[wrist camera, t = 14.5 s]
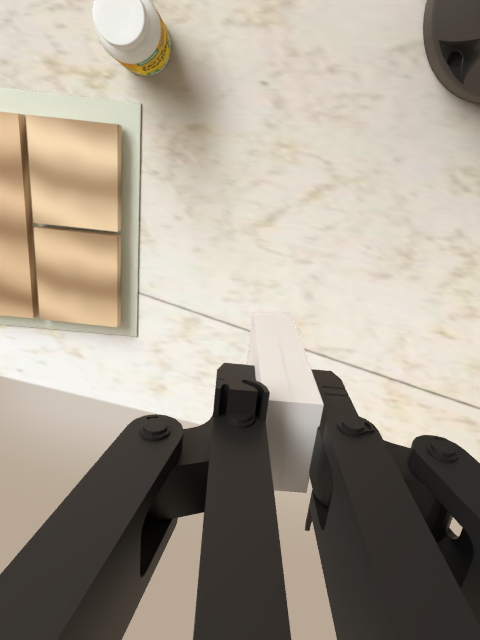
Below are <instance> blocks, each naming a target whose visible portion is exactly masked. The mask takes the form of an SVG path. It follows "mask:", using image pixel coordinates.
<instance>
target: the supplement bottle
mask: <svg viewBox="0 0 480 640" xmlns="http://www.w3.org/2000/svg"><path fill="white" fill-rule="evenodd" d="M92 12H93V20H94V24H95V28H96V33H97V36H98V39H99V41H100V43H101V45H102V46H103V48H104V49H105V50H106V51H107V53H108V54H109V55H111V56H112V57H113V58H114V59H116V60H117V61H118V62H119V63H121V64H122V65H123V66H124V67H126V68H127V69H128V70H130V71H131V72H133V73H134V74H137V75H140V76H151V75H155V74H157V73H159V72H160V71H161V70H162V69H163V68H164V67H165V66H166V64H167V62H168V60H169V58H170V54H171V41H170V36H169V32H168V30H167V28H166V26H165V24H164V22H163V20H162V19H161V17H160V15H159V13H158V11H157V9H156V8H155V6H154V4H153V3H152V1H151V0H94V3H93V10H92Z"/></svg>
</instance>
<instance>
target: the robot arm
mask: <svg viewBox="0 0 480 640" xmlns="http://www.w3.org/2000/svg"><path fill="white" fill-rule="evenodd" d="M423 35H424V44H425V50H426V54H427V57H428V60H429V63H430V65H431V67H432V70H433V71H434V73H435V75H436V76H437V78H438V79H439V81H440V82H441V83H442V84H443V85H444V86H445V87H446V88H447V89H448V90H449V91H450V92H452V93H453V94H455V95H456V96H458V97H460V98H462V99H464V100H467V101H470V102H474V103H480V0H427V2H426V7H425V13H424V23H423ZM348 396H349V395H348V393H347V391H346V390H345V387H344V385H343V382H342V380H341V379H340V378H339V377H338V376H336V375H335V374H334V373H333V372H332V371H324V370H312V369H311V368H310V365H309V362H308V359H307V356H306V354H305V351H304V348H303V345H302V342H301V340H300V337H299V334H298V331H297V328H296V326H295V323H294V320H293V317H292V314H289V313H278V312H267V311H257V310H253V315H252V323H251V332H250V340H249V349H248V357H247V365H242V364H231V363H224V364H223V365H222V366H221V367H220V368H219V369H218V370H217V378H216V389H215V400H214V411H213V415H212V417H211V419H210V420H209V421H208V422H206V423H205V424H203V425H200V426H198V427H194V428H189V429H183V428H182V425H181V424H180V423H179V422H178V421H177V420H176V419H174V418H171V417H169V416H166V415H156V414H155V415H146V416H143V417H140V418H137V419H135V420H134V421H132V422H131V423H130V424H129V425H128V426H127V427H126V428H125V429H124V431H123V432H122V433H121V434H120V435H119V436H118V437H117V439H116V440H115V441H114V442H113V443H112V444H111V446H110V447H109V448H108V449H107V450H106V451H105V453H104V454H103V455H102V456H101V457H100V458H99V460H98V461H97V462H96V463H95V464H94V466H93V467H92V468H91V469H90V470H89V471H88V473H87V474H86V475H85V476H84V477H83V478H82V480H81V481H80V482H79V483H78V484H77V485H76V487H75V488H74V489H73V490H72V491H71V493H70V494H69V495H68V496H67V497H66V498H65V499H64V501H63V502H62V503H61V504H60V505H59V506H58V508H57V509H56V510H55V511H54V512H53V514H52V515H51V516H50V517H49V518H48V519H47V520H46V522H45V523H44V524H43V525H42V527H41V528H40V529H39V530H38V531H37V532H36V533H35V535H34V536H33V537H32V538H31V539H30V540H29V542H28V543H27V544H26V545H25V546H24V547H23V549H22V550H21V551H20V552H19V553H18V554H17V556H16V557H15V558H14V559H13V560H12V561H11V563H10V564H9V565H8V566H7V567H6V569H5V570H4V571H3V572H2V573H1V574H0V640H122V638H123V635H124V633H125V632H126V629H127V627H128V625H129V623H130V621H131V619H132V617H133V615H134V613H135V610H136V608H137V606H138V604H139V602H140V600H141V598H142V596H143V594H144V592H145V589H146V587H147V585H148V583H149V581H150V579H151V577H152V574H153V573H154V570H155V568H156V566H157V564H158V562H159V560H160V558H161V556H162V554H163V552H164V549H165V547H166V545H167V543H168V541H169V539H170V537H171V535H172V533H173V531H174V528H175V526H176V524H177V519H178V517H183V516H187V515H192V514H197V513H202V512H204V522H203V533H202V544H201V555H200V567H199V579H198V590H197V601H196V612H195V623H194V636H193V640H291V634H290V625H289V618H288V609H287V600H286V591H285V583H284V574H283V566H282V557H281V549H280V540H279V531H278V522H277V515H276V506H275V497H274V490H277V491H290V492H304V493H306V492H307V486H308V482H309V477H310V480H311V484H312V488H313V489H312V494H311V499H310V504H309V509H308V514H307V519H306V526H305V530H306V531H307V530H308V531H309V530H310V526H311V522H312V521H313V525H314V530H315V535H316V540H317V545H318V549H319V554H320V559H321V564H322V569H323V573H324V578H325V583H326V588H327V593H328V598H329V602H330V607H331V612H332V617H333V622H334V626H335V631H336V636H337V640H480V463H479V462H477V461H476V460H475V459H474V458H473V457H472V456H471V455H470V454H469V453H467V452H466V451H465V450H464V449H462V448H461V447H460V446H458V445H457V444H455V443H453V442H451V441H449V440H447V439H445V438H442V437H439V436H431V435H423V436H419V437H416V438H415V439H414V440H413V442H412V446H411V448H407V447H404V446H400V445H397V444H393V443H390V442H387V441H384V440H383V439H382V437H381V435H380V433H379V431H378V430H377V428H376V427H375V426H374V425H373V424H372V423H370V422H369V421H367V420H366V419H364V418H361V417H359V416H358V414H357V412H356V410H355V408H354V406H353V403H352V401H351V399H350V397H348ZM453 517H454V518H455V519H456V521H457V522H458V523H459V524H460V525H461V526H462V527H463V529H462V532H461V534H460V536H459V537H458V536H456V535H455V534H454V533H453V532H452V531H451V529H450V528H449V526H450V523H451V520H452V518H453Z"/></svg>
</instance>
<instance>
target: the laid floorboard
mask: <svg viewBox="0 0 480 640" xmlns="http://www.w3.org/2000/svg"><path fill="white" fill-rule="evenodd" d="M38 314H39V312H38V298H37V283H36V269H35V255H34V240H33V226H32V212H31V198H30V183H29V169H28V155H27V140H26V126H25V115H23V114H18V113H9V112H0V315H2V316H13V317H24V318H34V317H36V316H37V315H38Z"/></svg>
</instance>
